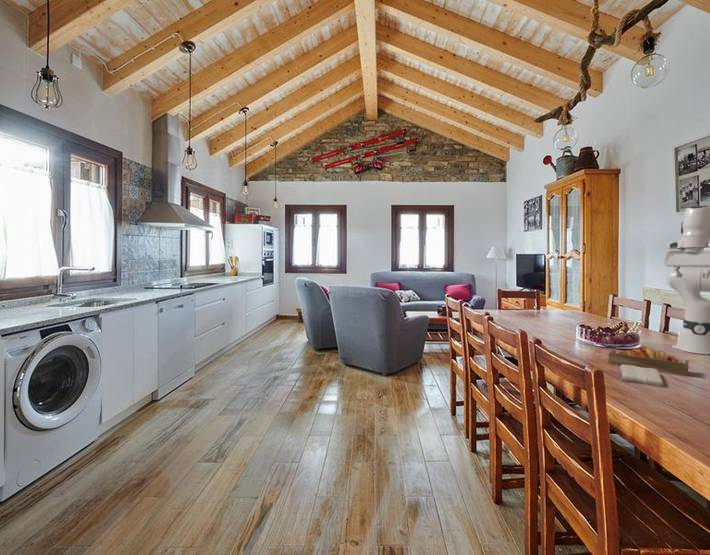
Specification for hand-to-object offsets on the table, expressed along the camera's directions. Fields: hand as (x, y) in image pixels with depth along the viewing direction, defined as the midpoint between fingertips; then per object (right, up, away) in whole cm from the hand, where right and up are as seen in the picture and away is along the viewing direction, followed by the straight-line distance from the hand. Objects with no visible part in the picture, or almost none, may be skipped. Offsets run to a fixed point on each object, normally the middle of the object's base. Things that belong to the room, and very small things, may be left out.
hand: (691, 277), depth 158 cm
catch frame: (-23, -36, -6) cm, 43 cm away
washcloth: (-35, -37, -18) cm, 54 cm away
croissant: (-17, -36, +1) cm, 40 cm away
